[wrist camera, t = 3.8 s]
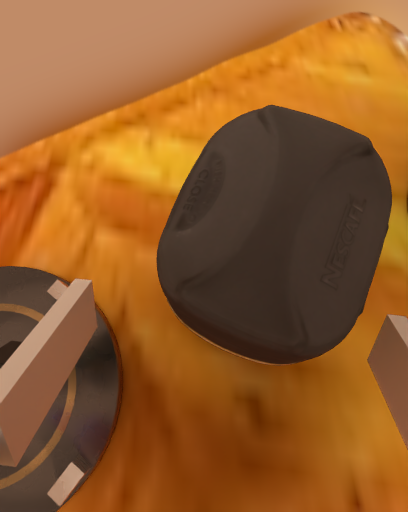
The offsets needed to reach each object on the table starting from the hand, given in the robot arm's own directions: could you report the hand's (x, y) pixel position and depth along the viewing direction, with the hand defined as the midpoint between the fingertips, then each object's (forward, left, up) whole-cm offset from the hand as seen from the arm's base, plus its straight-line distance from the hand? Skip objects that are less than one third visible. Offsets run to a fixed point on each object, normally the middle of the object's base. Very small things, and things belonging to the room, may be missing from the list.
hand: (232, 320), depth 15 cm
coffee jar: (+1, -3, -13) cm, 14 cm away
